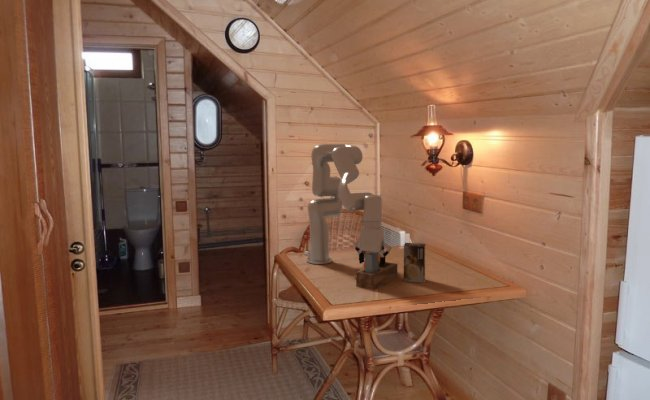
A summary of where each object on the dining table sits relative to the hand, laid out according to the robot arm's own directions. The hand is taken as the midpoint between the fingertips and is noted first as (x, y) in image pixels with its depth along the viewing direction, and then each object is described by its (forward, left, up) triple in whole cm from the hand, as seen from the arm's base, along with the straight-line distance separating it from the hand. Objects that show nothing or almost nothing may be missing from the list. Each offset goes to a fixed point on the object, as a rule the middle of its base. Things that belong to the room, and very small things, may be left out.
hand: (371, 264), depth 213 cm
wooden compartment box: (0, +6, -9) cm, 10 cm away
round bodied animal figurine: (-28, +47, -9) cm, 55 cm away
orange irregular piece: (-9, +24, -9) cm, 27 cm away
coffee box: (+13, +16, -9) cm, 22 cm away
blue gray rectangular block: (0, 0, -7) cm, 7 cm away
